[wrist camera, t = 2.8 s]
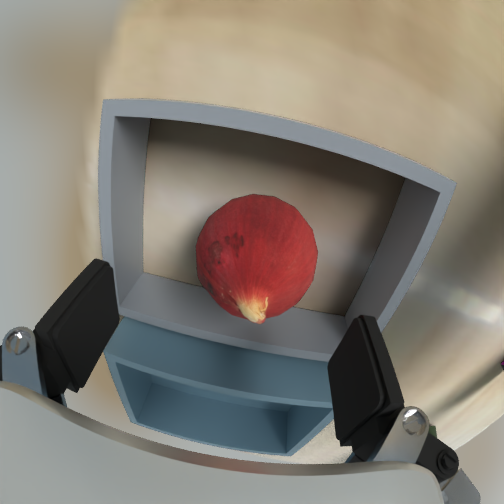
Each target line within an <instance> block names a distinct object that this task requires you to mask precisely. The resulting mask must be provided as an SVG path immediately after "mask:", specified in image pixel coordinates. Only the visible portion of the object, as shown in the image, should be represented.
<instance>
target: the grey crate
mask: <svg viewBox="0 0 504 504" xmlns="http://www.w3.org/2000/svg"><path fill="white" fill-rule="evenodd" d="M150 118H158V119H169V120H179V121H187V122H195V123H203V124H210V125H216V126H222V127H228V128H234V129H240V130H245V131H250V132H255V133H260V134H265V135H269V136H274V137H278V138H283V139H287V140H291V141H295V142H299V143H303V144H307V145H310V146H314V147H318V148H321V149H325V150H328V151H331V152H335V153H338V154H341V155H345V156H348V157H351V158H354V159H357V160H360V161H363V162H366V163H369V164H372V165H374V166H377V167H380V168H383V169H385V170H388V171H391V172H393V173H396V174H398V175H401V176H403V177H406V178H405V181H404V183H403V186H402V189H401V192H400V195H399V197H398V200H397V203H396V205H395V208H394V211H393V213H392V216H391V218H390V221H389V223H388V226H387V228H386V231H385V233H384V235H383V238H382V240H381V242H380V245H379V247H378V249H377V251H376V254H375V256H374V258H373V260H372V263H371V265H370V267H369V269H368V271H367V273H366V275H365V277H364V279H363V281H362V283H361V285H360V288H359V290H358V291H357V293H356V295H355V297H354V299H353V301H352V303H351V305H350V307H349V309H348V311H347V313H346V314H345V316H339V315H334V314H328V313H323V312H317V311H312V310H306V309H301V308H296V307H291V308H290V309H288V310H287V311H285V312H284V313H282V314H281V315H279V316H275V317H271V318H266V320H265V322H264V323H262V324H257V323H253V322H251V321H249V320H247V319H244V318H240V317H237V316H233V315H231V314H230V313H228V312H227V311H226V310H224V309H223V308H222V307H220V306H219V305H218V304H217V303H216V301H215V300H214V299H213V298H212V297H211V295H210V294H209V293H208V292H207V290H206V289H205V288H204V287H200V286H195V285H191V284H187V283H183V282H179V281H175V280H171V279H168V278H164V277H160V276H156V275H152V274H148V273H145V272H143V202H144V181H145V167H146V155H147V144H148V135H149V126H150ZM456 184H457V183H456V182H454V181H453V180H451V179H449V178H447V177H445V176H444V175H442V174H440V173H438V172H436V171H434V170H432V169H430V168H428V167H426V166H424V165H422V164H420V163H418V162H416V161H414V160H411V159H409V158H407V157H404V156H402V155H400V154H397V153H395V152H392V151H390V150H387V149H385V148H382V147H380V146H377V145H374V144H371V143H369V142H366V141H363V140H360V139H357V138H354V137H351V136H348V135H345V134H342V133H339V132H336V131H333V130H329V129H326V128H323V127H319V126H316V125H312V124H308V123H304V122H301V121H297V120H293V119H289V118H284V117H280V116H275V115H271V114H266V113H261V112H256V111H251V110H246V109H240V108H234V107H228V106H221V105H214V104H206V103H198V102H188V101H177V100H164V99H144V98H132V99H105V100H103V106H102V115H101V126H100V140H99V166H98V193H99V219H100V233H101V245H102V255H103V261H107V262H109V264H110V266H111V267H112V268H113V272H114V281H115V290H116V297H117V304H118V311H119V315H122V316H125V317H128V318H132V319H135V320H138V321H141V322H144V323H147V324H151V325H154V326H157V327H161V328H164V329H168V330H171V331H175V332H179V333H182V334H186V335H190V336H194V337H198V338H202V339H206V340H210V341H214V342H219V343H223V344H227V345H232V346H237V347H241V348H246V349H251V350H256V351H262V352H267V353H273V354H278V355H284V356H290V357H297V358H303V359H310V360H318V361H326V362H329V360H330V358H331V357H332V355H333V353H334V352H335V350H336V348H337V347H338V345H339V343H340V342H341V340H342V338H343V337H344V335H345V333H346V332H347V330H348V328H349V326H350V325H351V323H352V321H353V319H354V318H358V316H359V315H367V316H373V317H375V319H376V321H377V324H378V326H379V329H380V331H381V332H382V331H383V329H384V328H385V326H386V325H387V323H388V322H389V320H390V319H391V317H392V316H393V314H394V312H395V311H396V309H397V307H398V306H399V304H400V302H401V301H402V299H403V297H404V296H405V294H406V292H407V291H408V289H409V287H410V285H411V283H412V282H413V280H414V278H415V276H416V274H417V272H418V271H419V269H420V267H421V265H422V263H423V261H424V259H425V257H426V255H427V253H428V251H429V249H430V247H431V245H432V242H433V240H434V238H435V236H436V234H437V232H438V229H439V227H440V225H441V222H442V220H443V218H444V215H445V213H446V210H447V208H448V205H449V203H450V200H451V198H452V195H453V192H454V190H455V187H456Z"/></svg>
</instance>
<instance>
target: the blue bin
mask: <svg viewBox="0 0 504 504" xmlns="http://www.w3.org/2000/svg"><path fill="white" fill-rule="evenodd" d="M103 352H104V355H105V358H106V361H107V364H108V367H109V370H110V372H111V375H112V378H113V381H114V383H115V386H116V388H117V391H118V393H119V396H120V398H121V401H122V403H123V406H124V408H125V410H126V412H127V415H128V417H129V419H130V421H131V422H132V423H134V424H137V425H140V426H143V427H146V428H149V429H152V430H155V431H158V432H161V433H164V434H168V435H171V436H175V437H179V438H182V439H186V440H190V441H194V442H198V443H203V444H207V445H212V446H217V447H222V448H227V449H233V450H239V451H246V452H253V453H261V454H270V455H281V456H292V455H293V454H294V453H296V452H297V451H298V450H299V449H301V448H302V447H303V446H304V445H305V444H306V443H308V442H309V441H310V440H311V439H312V438H313V437H315V436H316V435H317V434H318V433H319V432H320V431H321V430H322V429H323V428H324V427H326V426H327V425H328V424H329V423H330V422H331V421H332V420H333V419H334V415H333V406H332V398H331V391H330V384H329V376H328V370H327V366H328V362H326V361H318V360H310V359H303V358H297V357H290V356H284V355H278V354H273V353H267V352H262V351H256V350H251V349H246V348H241V347H237V346H232V345H227V344H223V343H219V342H214V341H210V340H206V339H202V338H198V337H194V336H190V335H186V334H182V333H179V332H175V331H171V330H168V329H164V328H161V327H157V326H154V325H151V324H147V323H144V322H141V321H138V320H135V319H132V318H128V317H125V316H124V317H123V319H122V321H121V322H120V324H119V326H118V327H117V329H116V330H115V332H114V334H113V335H112V337H111V339H110V340H109V342H108V344H107V345H106V347H105V349H104V351H103Z"/></svg>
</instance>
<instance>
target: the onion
mask: <svg viewBox="0 0 504 504" xmlns="http://www.w3.org/2000/svg"><path fill="white" fill-rule="evenodd" d="M317 255H318V250H317V246H316V242H315V238H314V234H313V230H312V228H311V227H310V226H309V224H308V223H307V222H306V221H305V219H304V218H303V217H302V215H301V214H300V213H299V211H298V210H297V209H296V208H295V207H293V206H292V205H290V204H288V203H286V202H284V201H282V200H280V199H278V198H276V197H274V196H265V195H257V194H251V195H247V196H243V197H239V198H235V199H232V200H230V201H229V202H228V203H226V204H225V205H224V206H222V207H221V208H220V209H218V210H217V211H215V212H214V213H213V214H212V215H211V216H210V217H209V218H208V219H207V221H206V223H205V225H204V227H203V229H202V231H201V233H200V235H199V237H198V240H197V244H196V263H197V274H198V278H199V280H200V282H201V284H202V285H203V287H204V288H205V289H206V290H207V292H208V293H209V294H210V295H211V297H212V298H213V299H214V300H215V301H216V303H217V304H218V305H219V306H220V307H222V308H223V309H224V310H226V311H227V312H228V313H230V314H231V315H233V316H237V317H240V318H244V319H247V320H249V321H251V322H253V323H257V324H262V323H264V322H265V320H266V318H271V317H275V316H279V315H281V314H282V313H284V312H285V311H287V310H288V309H290V308H291V307H293V306H294V305H296V304H297V303H298V302H299V301H300V299H301V298H302V296H303V295H304V294H305V292H306V291H307V289H308V288H309V287H310V285H311V283H312V281H313V278H314V273H315V268H316V263H317Z"/></svg>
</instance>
